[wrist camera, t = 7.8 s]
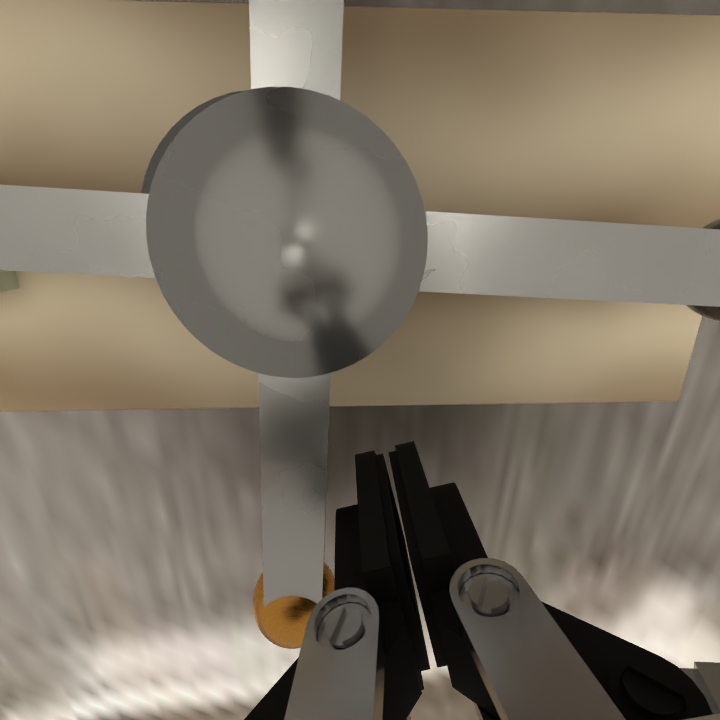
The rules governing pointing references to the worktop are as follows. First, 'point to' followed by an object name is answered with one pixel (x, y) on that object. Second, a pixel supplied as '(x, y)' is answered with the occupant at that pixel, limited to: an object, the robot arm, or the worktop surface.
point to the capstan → (319, 261)
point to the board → (427, 163)
